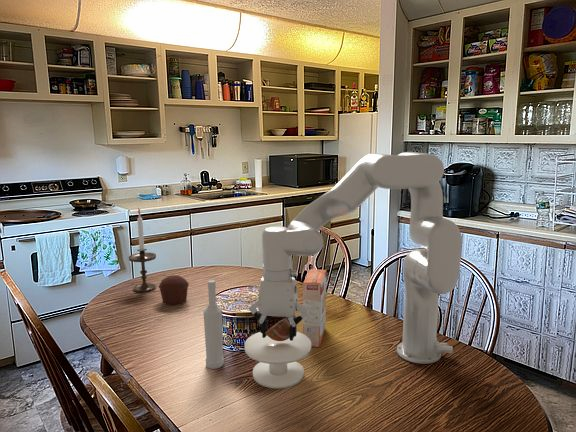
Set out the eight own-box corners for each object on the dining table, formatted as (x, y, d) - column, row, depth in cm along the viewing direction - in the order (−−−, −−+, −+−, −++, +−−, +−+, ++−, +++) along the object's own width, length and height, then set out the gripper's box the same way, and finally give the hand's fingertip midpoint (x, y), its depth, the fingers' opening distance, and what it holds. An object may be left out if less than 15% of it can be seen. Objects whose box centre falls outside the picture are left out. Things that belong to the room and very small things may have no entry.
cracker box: (321, 348, 137) (321, 283, 133) (301, 346, 138) (301, 282, 134) (326, 328, 150) (327, 269, 146) (308, 327, 152) (309, 268, 148)
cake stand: (316, 361, 129) (316, 332, 128) (304, 397, 112) (304, 364, 110) (256, 354, 133) (256, 326, 132) (236, 388, 116) (235, 356, 114)
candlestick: (153, 293, 184) (147, 209, 178) (127, 293, 184) (120, 209, 178) (161, 284, 195) (156, 205, 188) (136, 284, 195) (130, 205, 188)
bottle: (208, 371, 125) (205, 285, 120) (203, 362, 129) (199, 279, 124) (226, 366, 127) (223, 282, 122) (220, 358, 131) (217, 277, 127)
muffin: (195, 299, 177) (194, 275, 175) (175, 309, 168) (173, 283, 166) (174, 293, 183) (173, 270, 182) (153, 302, 174) (151, 278, 172)
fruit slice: (281, 349, 116) (281, 331, 115) (259, 343, 119) (259, 326, 118) (296, 336, 123) (296, 319, 122) (275, 331, 126) (274, 314, 125)
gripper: (312, 271, 119) (312, 333, 122) (250, 267, 123) (252, 328, 126) (307, 280, 112) (307, 346, 115) (241, 276, 116) (243, 340, 119)
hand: (278, 336), depth 121 cm, fingers closed on fruit slice, 6 cm apart
